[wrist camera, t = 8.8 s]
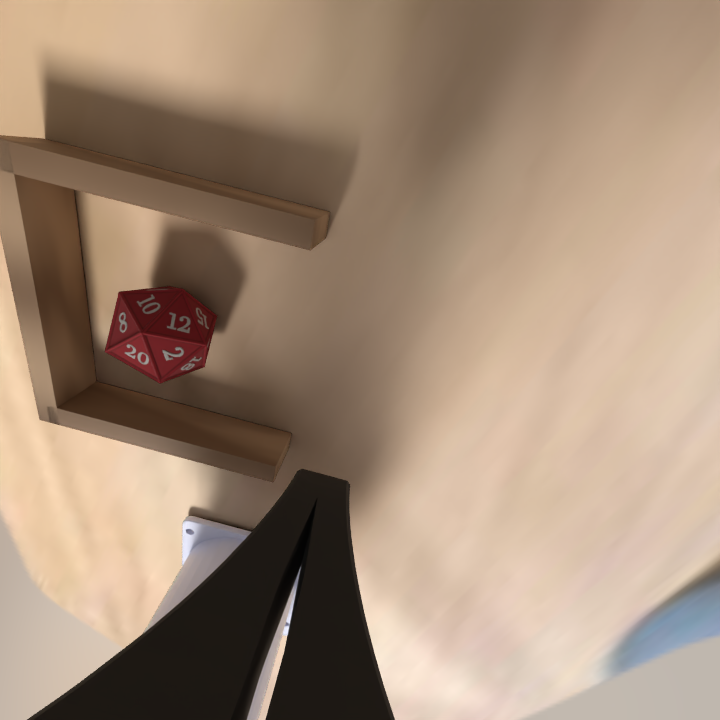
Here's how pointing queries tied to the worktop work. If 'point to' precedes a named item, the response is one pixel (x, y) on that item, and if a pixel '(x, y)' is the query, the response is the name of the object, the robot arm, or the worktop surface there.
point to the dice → (161, 332)
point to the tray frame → (69, 301)
